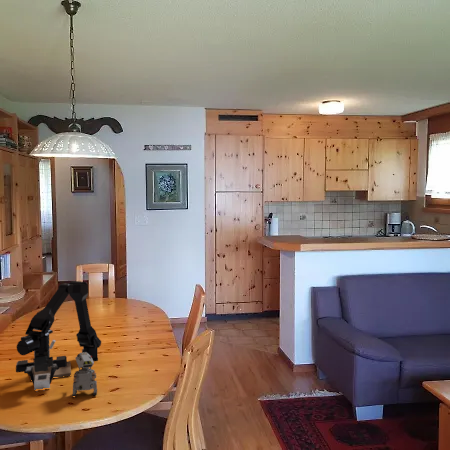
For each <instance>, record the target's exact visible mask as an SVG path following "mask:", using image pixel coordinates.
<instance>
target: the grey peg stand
mask: <svg viewBox="0 0 450 450" xmlns="http://www.w3.org/2000/svg"><path fill="white" fill-rule="evenodd" d="M71 363H72V362H71V361H67V366H66V367H60V368H59V369H58V370H56V371H55V373H54V375H53V377H63V376H70V375H71V376H72V369H71V368H72V367H71ZM33 369H34V367H33ZM47 373H50V374H51V366H50V367H48V370H47V371H39V372H35V370H34V377H35V375H38V374H47ZM63 378H64V377H63ZM30 380H31V378H30V377H29V381H30Z"/></svg>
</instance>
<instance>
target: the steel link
mask: <svg viewBox="0 0 450 450" xmlns="http://www.w3.org/2000/svg"><path fill="white" fill-rule="evenodd" d="M33 386H34V388H33V390H36V389H43V388H50V389H51V384H50V373H47V374H38V375H35V380H34V385H33Z"/></svg>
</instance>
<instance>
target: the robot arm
mask: <svg viewBox="0 0 450 450" xmlns="http://www.w3.org/2000/svg"><path fill="white" fill-rule="evenodd" d="M88 295H89V284H88V282H86V281H80V280H71V281H70V282H65V283H61V284H59V285H58V287H57V290H56V291H55V293H53V295H52V297H51V298H50V300H49V301H48V302H47V303H46V306H44V307H43V309H41V310H39V311H38V312H37V313H36V314H35V315H33V317H32V318H31V320H30V322H29V325H28V327H27V329H26V331H25V333H24V334H25V335H24V336H21V337H20V340H19V341H18V342H17V344H16V351H17V353H18V354H19V355H21V356H26V355H29V354H31V353H32V352H33V361H32V362H29V360H28V359H24V360H18V361H17V362H16V365H15V373H24V374H27V375H28V376H29V379H30V378H31V380H32V381H31V382H32V385H33V386H34V380H35V377H34V370H35V372H39V371H47V370H48V367H50V366H51V374H50V385H51V384H52V381H53V379H52V378H53V375H54V373H55V371H56V370H58V369H59V368H60V367H66V366H67V362H68V361H67V358H68V357H67V356H66V355H59V356H56V358H55V359H54V357H53V356H50V355H51V353H50V352H49V347H50V334H52V333H54V330H52V329H51V328H52V326H53V324H54V322H55V316H56V314H57V312H58V311H59V309H60V307H61V306H62V305H63V303H64V302H65V301H66V299H67V298H68V296H69V297H70V298H71V299H72V300H73V301H74V305H75V310H76V315H77V320H78V326H79V330H78V332H77V333H76V335H75V336H76V341H77V342H78V344H79V347H81V348H83V349H81V353H83V352H87V353H88V354H89V355H90V356H92V358H93V361H94V362H95V361H98V360H99V357H98V353H99V352H98V348H99V349H100V347H101V345H102V340H101V339H100V338H99V337H98V334H97V331H96V330H95V328H94V327H93V326H92V324H91V318H90V313H89V309H88V302H87V298H88V297H87V296H88ZM33 367H34V369H33Z"/></svg>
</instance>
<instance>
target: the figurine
mask: <svg viewBox="0 0 450 450" xmlns="http://www.w3.org/2000/svg"><path fill="white" fill-rule="evenodd" d="M74 358H75V361H76V365H77V366H78V370H76V371H75V372H74V374H73V383H72V394H71V395H72V396H76V397H77V394H76V393H78V391H80V392H81V391H90V390H93V393H92V394H93V395H98V388H97V386H98V384H97V381H98V380H96V379H97V372H96V370H95V369H92V367H93V366H94V363H95V361H93V358H92V356H90V355H89V354H88V353H87V352H83V353H82V352H79V353H78V354H77V355H76V356H75V357H74Z"/></svg>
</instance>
